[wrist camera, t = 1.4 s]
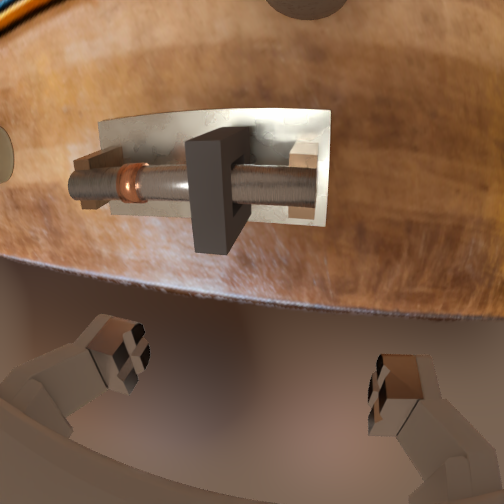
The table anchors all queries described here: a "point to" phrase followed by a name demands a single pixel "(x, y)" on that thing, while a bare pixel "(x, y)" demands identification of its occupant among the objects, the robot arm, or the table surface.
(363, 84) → the table surface
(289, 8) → the thermos bottle
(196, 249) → the collar
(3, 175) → the can
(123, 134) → the rail
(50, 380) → the robot arm
